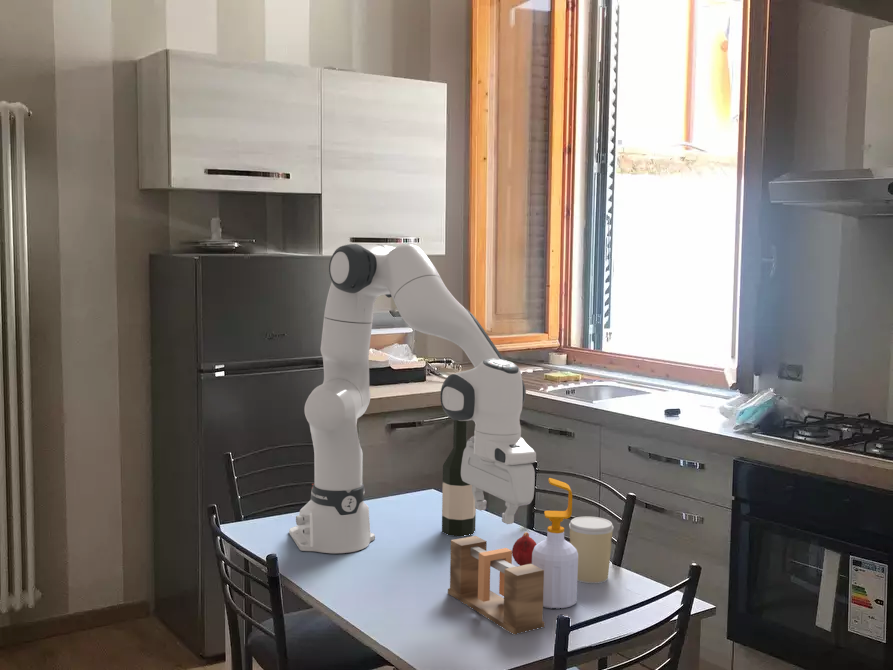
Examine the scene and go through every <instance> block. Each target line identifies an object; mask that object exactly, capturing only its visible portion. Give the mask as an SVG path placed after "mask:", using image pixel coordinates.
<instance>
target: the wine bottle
mask: <svg viewBox="0 0 893 670" xmlns="http://www.w3.org/2000/svg"><path fill="white" fill-rule="evenodd" d="M468 422H469V421H459V420H453V437H452V439H453V440H452V442H453V443H452V445H453V446H452V450H451V452H450V453H449V454H448V456H447V458H446V459H445V461H444V463H443V464H442V494H441V495H442V498H441V499H442V500H441V501H442V503H441V505H442V506H441V533H442V532H444V533H446V534H448V535H454V536H453V537H457V536H464V535H469V534H470V535H469V536H472V535H471V534H473V533H474V534H475V532H476V518H477V517H476V514H477V509H476V508H475V499H474V496H473V493H472V485H470V484H468V483H466V482H464V481H462V478H461V464H462V457H463V452H464V449H465V448H466V444H467V441H468ZM474 531H475V532H474ZM444 533H443V534H444ZM446 534H445V535H446ZM474 534H473V535H474ZM448 535H447V536H448ZM464 537H465V536H464Z"/></svg>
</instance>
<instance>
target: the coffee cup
mask: <svg viewBox="0 0 893 670" xmlns="http://www.w3.org/2000/svg"><path fill="white" fill-rule="evenodd" d="M568 528H569V543H571V544H572V545H573V546H574V547H575V548H576V549H577V552H578V576H577V582H579V583H585V584H601V582H602V583H604V581H605V582H606V581H608V579H609V578H608V577H609V570H610V562H611V554H612V553H611V552H612V543H613V532H614V525H613V523H612V521H610V520H609V519H607V518H604V517H598V516H591V515H590V516H586V515H585V516H577V517H575V518H572V519H571V520H570V522H569V524H568Z"/></svg>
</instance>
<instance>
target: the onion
mask: <svg viewBox="0 0 893 670" xmlns="http://www.w3.org/2000/svg"><path fill="white" fill-rule="evenodd" d="M537 544H538V543H537V542H536V541H535V540H534V539H533V538H532V537H530V533H529V532H528V531H526V532H524V533H523V535H522V536H521V537H519V538H518V539H517V540H516V541H515V542H514V544H513V546H512V559H514V562H515V563H516V564H517V565H518V566H522V565H527V564H532V552H533V549H534V547H535V546H536V545H537Z"/></svg>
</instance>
